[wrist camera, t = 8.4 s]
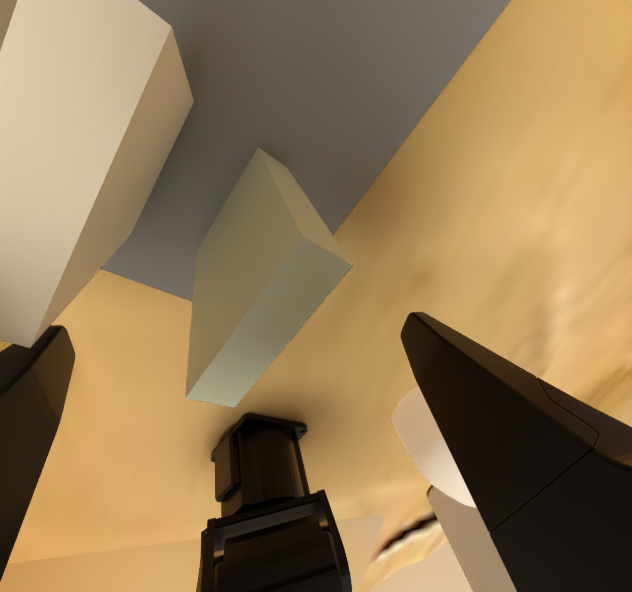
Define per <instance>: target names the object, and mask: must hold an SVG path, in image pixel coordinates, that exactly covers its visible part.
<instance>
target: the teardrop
mask: <svg viewBox="0 0 632 592" xmlns="http://www.w3.org/2000/svg"><path fill="white" fill-rule="evenodd" d="M391 419H392V423H393V427H394V429H395V431H396V433H397V435H398V436H399V438H400V440H401V442H402V443H403V445H404V447H405V449H406V450H407V452H408V454H409V456H410V458H411V459H412V461H413V463H414V465H415V466H416V468H417V470H418V471H419V472H420V473H421V474H422V475H423V477H424V478H425V479H426V480H427V481H428V482H429V483H430V484H432V485H433V486H435V487H436V488H437V489H439V490H440V491H442V492H443V493H445V494H446V495H448V496H449V497H451V498H453V499H455V500H456V501H458V502H460V503H462V504H464V505H466V506H470V507H475V508H477V507H476V505H475V503H474V501H473V499H472V497H471V495H470V493H469V490H468V488H467V486H466V484H465V482H464V480H463V478H462V476H461V474H460V472H459V470H458V467H457V465H456V463H455V461H454V459H453V457H452V455H451V453H450V451H449V449H448V447H447V445H446V442H445V440H444V438H443V436H442V434H441V432H440V430H439V428H438V426H437V424H436V422H435V420H434V417H433V415H432V413H431V411H430V409H429V407H428V405H427V403H426V401H425V399H424V397H423V394H422V392H421V390H420V388H419V386H418V385H417V386H416V387H414V388H413V389H411V390H410V391H409V392H408V393H407V394H406V395H405V396H404V397H403V398H402V399H401V400H400V401H399V402H398V404H397V406H396V408H395V410H394V412H393V414H392V416H391Z"/></svg>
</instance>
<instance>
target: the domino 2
mask: <svg viewBox="0 0 632 592" xmlns="http://www.w3.org/2000/svg"><path fill="white" fill-rule="evenodd" d="M352 266H353V265H352V263H351V262H350V260H349V259H348V257H347V256H346V254H345V253H344V251H343V250H342V249H341V247H340V246H339V244H338V243H337V241H336V240H335V238H334V237H333V235H332V234H331V232H330V231H329V229H328V228H327V226H326V225H325V223H324V222H323V220H322V219H321V217H320V216H319V214H318V213H317V211H316V210H315V208H314V207H313V205H312V204H311V202H310V201H309V199H308V198H307V196H306V195H305V193H304V192H303V190H302V189H301V187H300V186H299V185H298V183H297V182H296V180H295V179H294V177H293V176H292V174H291V173H290V171H289V170H288V168H287V167H285V166H284V165H283V164H281V163H280V162H278V161H277V160H276V159H274V158H273V157H271V156H270V155H269V154H267V153H266V152H264V151H263V150H262V149H260V148H259V147H258V148H257V149H256V151H255V153H254V154H253V156H252V158H251V160H250V161H249V163H248V165H247V166H246V168H245V170H244V171H243V173H242V175H241V176H240V178H239V180H238V182H237V183H236V185H235V187H234V188H233V190H232V192H231V193H230V195H229V197H228V199H227V200H226V202H225V204H224V205H223V207H222V209H221V210H220V212H219V214H218V216H217V217H216V219H215V221H214V222H213V224H212V226H211V227H210V229H209V231H208V233H207V234H206V236H205V238H204V239H203V241H202V243H201V244H200V246H199V248H198V249H197V251H196V262H195V276H194V289H193V303H192V316H191V330H190V343H189V357H188V370H187V384H186V397H185V398H188V399H193V400H198V401H203V402H208V403H213V404H218V405H223V406H228V407H233V408H235V407H236V405H237V404H238V403H239V402H240V401H241V399H242V398H243V397H244V396H245V395H246V393H247V392H248V391H249V390H250V389H251V387H252V386H253V385H254V384H255V383H256V381H257V380H258V379H259V378H260V377H261V375H262V374H263V373H264V372H265V371H266V369H267V368H268V367H269V366H270V365H271V363H272V362H273V361H274V360H275V359H276V357H277V356H278V355H279V354H280V353H281V351H282V350H283V349H284V348H285V347H286V345H287V344H288V343H289V342H290V341H291V339H292V338H293V337H294V336H295V335H296V333H297V332H298V331H299V330H300V329H301V327H302V326H303V325H304V324H305V323H306V321H307V320H308V319H309V318H310V317H311V315H312V314H313V313H314V312H315V311H316V309H317V308H318V307H319V306H320V305H321V303H322V302H323V301H324V300H325V298H326V297H327V296H328V295H329V294H330V292H331V291H332V290H333V289H334V288H335V286H336V285H337V284H338V283H339V282H340V280H341V279H342V278H343V277H344V276H345V274H346V273H347V272H348V271H349V270H350V268H351V267H352Z"/></svg>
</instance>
